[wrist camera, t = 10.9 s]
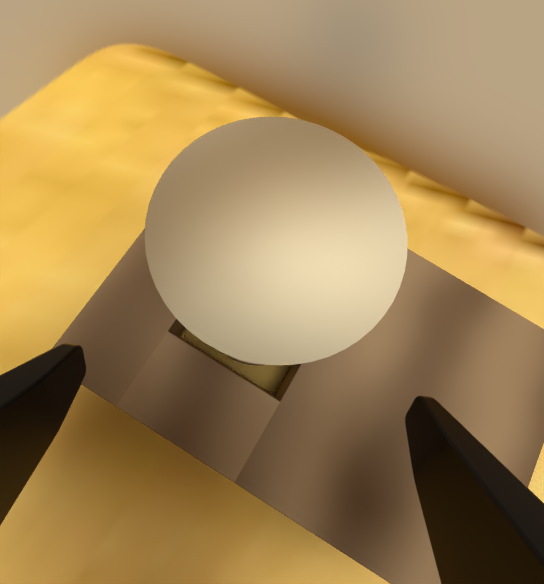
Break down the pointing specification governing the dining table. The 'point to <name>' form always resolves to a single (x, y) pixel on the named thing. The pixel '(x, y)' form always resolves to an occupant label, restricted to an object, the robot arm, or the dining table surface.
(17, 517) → the dining table surface
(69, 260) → the dining table surface
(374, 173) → the peg
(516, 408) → the board
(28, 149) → the dining table surface
